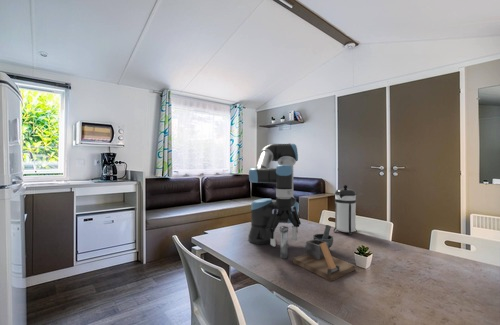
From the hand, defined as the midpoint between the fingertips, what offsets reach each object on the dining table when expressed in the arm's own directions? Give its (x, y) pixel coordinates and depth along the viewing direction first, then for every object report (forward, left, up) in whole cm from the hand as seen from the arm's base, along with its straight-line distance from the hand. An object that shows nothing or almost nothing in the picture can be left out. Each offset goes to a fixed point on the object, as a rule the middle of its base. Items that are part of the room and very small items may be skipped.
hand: (283, 242), depth 114 cm
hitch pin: (0, 0, -7) cm, 7 cm away
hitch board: (+17, +7, -7) cm, 20 cm away
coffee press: (-7, +60, -7) cm, 61 cm away
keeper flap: (+22, +3, 0) cm, 23 cm away
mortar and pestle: (+5, +23, -7) cm, 25 cm away
